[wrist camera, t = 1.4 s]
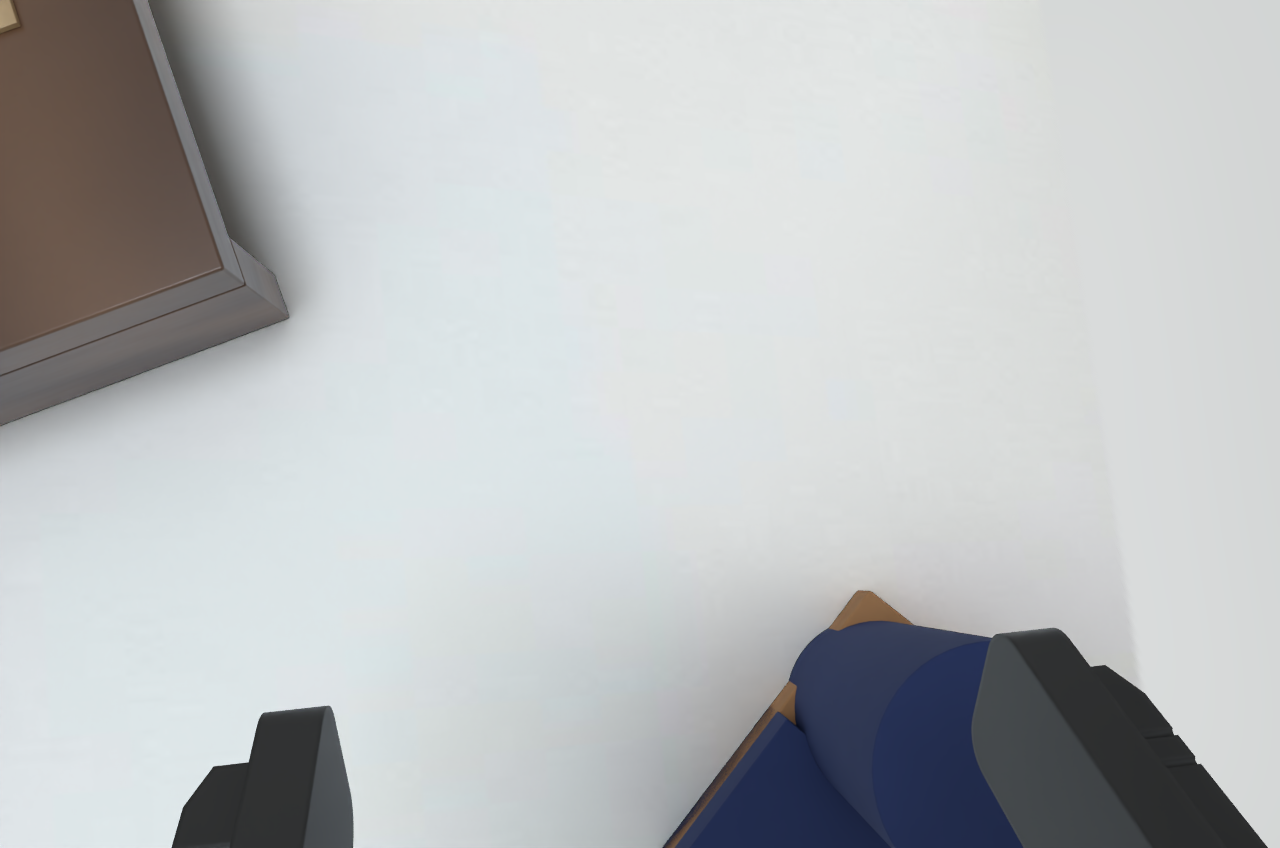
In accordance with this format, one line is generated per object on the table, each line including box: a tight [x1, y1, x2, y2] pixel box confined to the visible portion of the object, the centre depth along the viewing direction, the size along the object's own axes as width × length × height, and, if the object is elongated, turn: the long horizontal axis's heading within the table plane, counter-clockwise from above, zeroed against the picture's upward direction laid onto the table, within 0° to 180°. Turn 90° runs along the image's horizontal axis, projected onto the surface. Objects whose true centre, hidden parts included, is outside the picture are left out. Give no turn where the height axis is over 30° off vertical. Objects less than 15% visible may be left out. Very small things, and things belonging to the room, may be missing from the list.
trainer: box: [663, 591, 1023, 848], centre depth 24 cm, size 9×5×11 cm, turn 141°
